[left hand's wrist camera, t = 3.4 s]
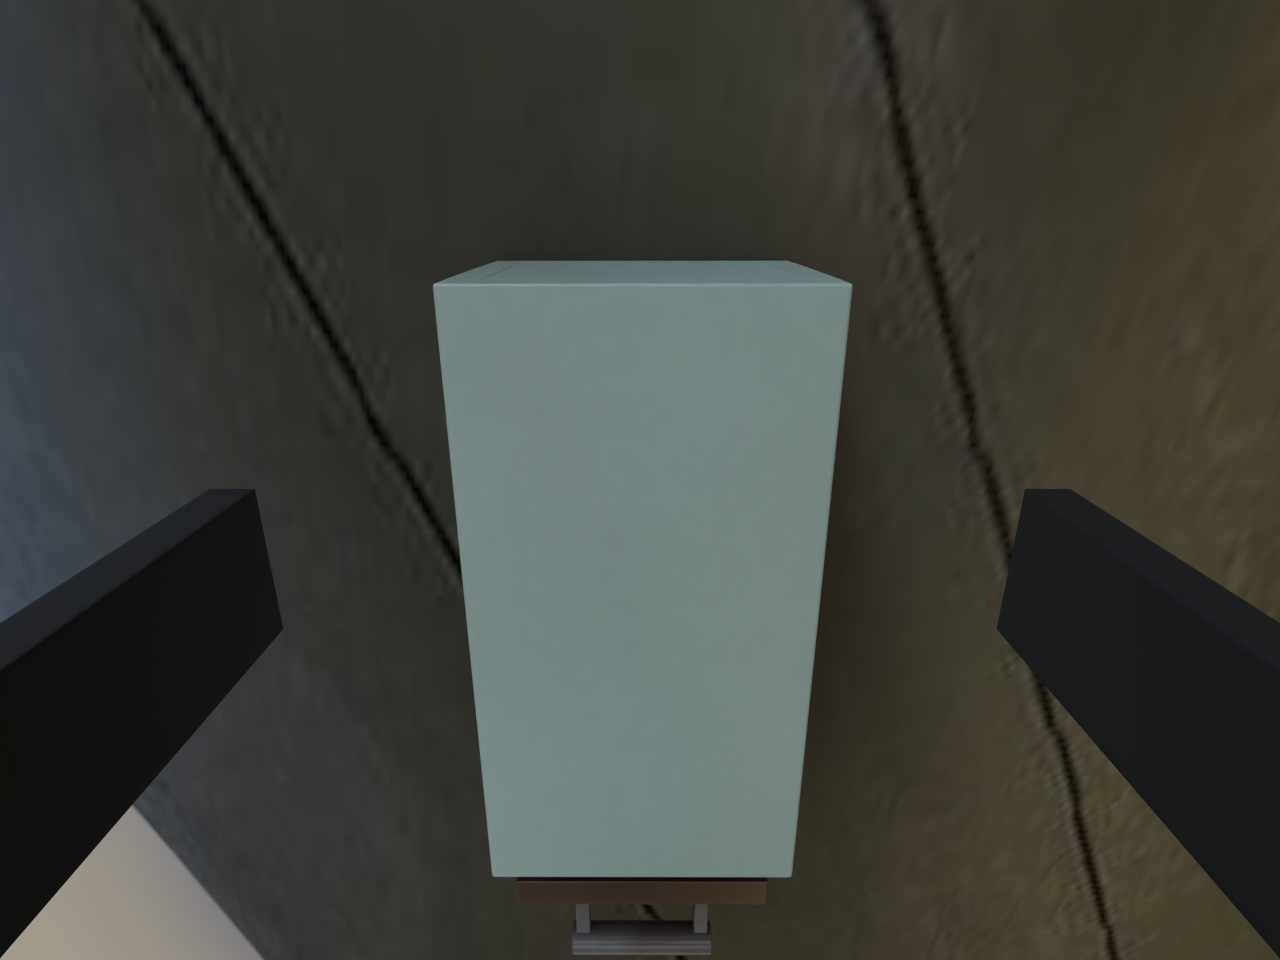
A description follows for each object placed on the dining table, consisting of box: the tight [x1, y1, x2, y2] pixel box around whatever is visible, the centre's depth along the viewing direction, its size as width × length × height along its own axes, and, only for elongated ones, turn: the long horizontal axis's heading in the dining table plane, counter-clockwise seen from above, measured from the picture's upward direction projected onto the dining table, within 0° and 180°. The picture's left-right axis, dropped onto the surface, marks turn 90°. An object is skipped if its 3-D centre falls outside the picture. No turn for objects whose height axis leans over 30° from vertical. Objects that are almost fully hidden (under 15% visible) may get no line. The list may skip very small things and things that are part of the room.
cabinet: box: [433, 261, 853, 877], centre depth 26 cm, size 20×11×8 cm, turn 0°
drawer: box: [516, 877, 768, 955], centre depth 28 cm, size 25×10×6 cm, turn 0°
